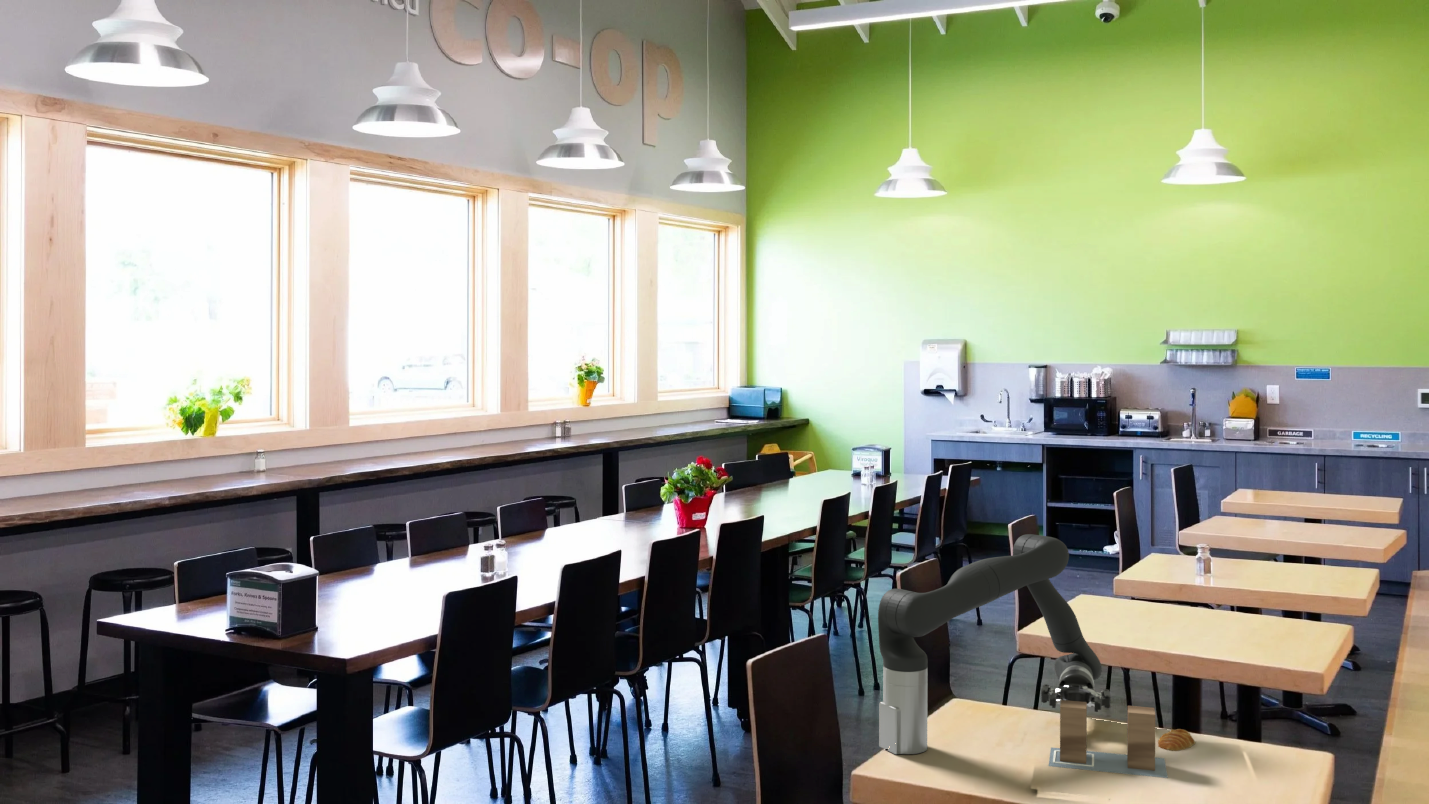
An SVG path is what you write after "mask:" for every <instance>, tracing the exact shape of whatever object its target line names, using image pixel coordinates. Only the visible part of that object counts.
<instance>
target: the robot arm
mask: <svg viewBox="0 0 1429 804" xmlns="http://www.w3.org/2000/svg"><path fill="white" fill-rule="evenodd" d="M1069 559H1070V553H1069V549H1068V547H1067V545H1066V544H1065V543H1064V542H1063V541H1061V540H1060V539H1058V538H1056V537H1052V536H1046V535H1040V534H1031V533H1029V534H1028V533H1027V534H1023V535H1021V536H1018V538H1017V539H1016V541H1015V542H1014V545H1013V549H1012V555H1004V556H996V557H988V558H984V559H980V560H976V561H974V562H972V563H969V564H967V565H965V566H962V567H960V568H958V569H956V571H955V572H954V573H953V574H952V575H951V576H950V578H949V580H948V582H947V584H946V585H944V586H942V587H940V588H937V589H934V590H931V591H927V592H915V591H911V590H907V589H902V588H892V589H889V590H887V591H886V592H885V593H884V594H883V595H882V597H881V599H880V601H879V605H878V610H877V611H878V612H877V627H878V628H877V629H878V630H877V631H878V644H879V645H878V647H879V652H880V655H881V658H882V667H883V669H882V670H883V671H882V673H883V674H882V678H883V679H882V686H883V687H882V694H883V695H882V696H883V697H882V701H880V702H879V703H878V706H879V707H878V709H879V710H878V714H879V715H878V726H879V727H878V730H879V731H878V737H879V738H878V746H879V748H882V749H884V750H886V749H888V748H889V746H890V748H889V749H888V750H887V751H888V752H890V753H891V754H894V755H916V754H921V753H924V752H926V751H927V750H928V655H927V654H926V652H925V651H924V650H923V649H922V648H921V647H920V646H919V645H918V644H917V642H916V639H915V638H920V637H923V636H924V637H925V636H926V635H928V634H929V633H931V632H933V631H935V630H936V629H938V628H940V627H941V626H943V625H944V624H946V623H947V622H949V621H951V620H952V619H954V618H956V617H959V616H962V615H964V614H966V613H968V612H970V611H973V610H975V609H977V608H979V607H982V606H985V605H987V604H989V603H991V602H993V601H995V600H998V599H999V598H1001V597H1004V596H1006V595H1009V594H1010V593H1013V592H1015V591H1018V590H1020V589H1022V588H1023V587H1027V588H1028V590H1029V593H1030V594H1031V596H1032V598H1033V599H1034V601H1035V602H1036V605H1037V607H1038V608H1039V610H1040V612H1041V614H1042V616H1043V619H1044V622H1045V624H1046V627H1047V631H1048V633H1049V635H1050V638H1051V642H1052V644H1053V646H1054V648H1055V650H1056V651H1058V652H1060V653H1063V655H1060V656H1059V657H1057V658H1056V660H1055V662H1054V672H1055V676H1056V677H1057V679H1058V681H1059V682H1058V686H1056V688H1052V687H1051V686H1050V685H1049V684H1048V683H1047V684H1043V685H1042V688H1041V689H1040V690H1041V691H1040V702H1041V703H1043V704H1046V703H1047V702H1048V706H1051V708H1052V709H1057V708H1056V706H1057V705H1060V704H1061V700H1067V701H1079V702H1087V707H1089V708H1093V707H1094V712H1096V713H1098V712H1099V711H1102V708H1103V707H1104V708H1106V709H1110V708H1111V707H1112V706H1111V692H1110V689H1106V688H1104V689H1103V690H1100V692H1098V691H1096V689H1095V682H1094V681H1096V680H1098V679H1099V678H1100V677H1101V675H1102V672H1103V667H1102V664H1101V661H1100V659H1099V657H1098V656H1097V654H1096V653H1095V652H1094V650H1093V649H1092V648H1091V646H1090V645H1089V643H1088V642H1087V641H1086V638H1085V637H1084V635H1083V633H1082V630H1081V628H1080V624H1079V621H1078V619H1077V616H1076V614H1075V612H1074V611H1073V609H1072V606H1070V605H1069V603H1068V602H1067V600H1066V599H1065V598H1064V597H1063V596H1062V595H1061V593H1060V592H1058V590H1057V589H1056V587H1055V586H1054V585H1053V583H1052V582H1051V580H1050V579H1052V578H1055V577H1057V576H1058V575H1060V574H1061V573H1062V572H1063V571H1064V570H1065V569H1066V568H1067V565H1068V562H1069ZM1065 653H1066V654H1065ZM895 743H896V744H895Z"/></svg>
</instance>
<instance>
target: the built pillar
mask: <svg viewBox="0 0 1429 804" xmlns="http://www.w3.org/2000/svg"><path fill="white" fill-rule="evenodd" d="M1126 726H1127V728H1126V729H1127V739H1126V741H1127V742H1126V746H1127V748H1126V755H1127V764H1128V768H1132V769H1142V770H1153V771H1155V757H1156V710H1155V707H1147V706H1138V705H1137V706H1136V705H1127V725H1126Z"/></svg>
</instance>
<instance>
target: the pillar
mask: <svg viewBox="0 0 1429 804" xmlns="http://www.w3.org/2000/svg"><path fill="white" fill-rule="evenodd" d="M1059 705H1060V706H1059V707H1060V708H1059V709H1060V710H1059V748H1060V761H1063V762H1073V763H1083V764H1086V757H1087V751H1088V750H1087V746H1088V745H1087V744H1088V743H1087V738H1088V737H1087V733H1088V731H1087V729H1088V727H1087V726H1088V725H1087V724H1088V723H1087V722H1088V720H1087V718H1088V717H1087V716H1088V715H1087V714H1088V712H1087V711H1088V706H1087V702H1079V701H1067V700H1061V704H1059Z"/></svg>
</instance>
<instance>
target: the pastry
mask: <svg viewBox="0 0 1429 804" xmlns="http://www.w3.org/2000/svg"><path fill="white" fill-rule="evenodd" d="M1195 744H1196V741H1195V739H1194V738H1193V736H1192V734H1191V733H1190V732H1189V731H1188V730H1186V729H1181V728H1177V729H1170V730H1169V731H1168V732H1165V733H1163V734H1162V735H1161V737H1159V739H1158V740H1157V745H1158V747H1157V748H1160V749H1162V750H1166V751H1170V752H1174V751H1175V752H1177V751H1178V752H1179V751H1183V750H1186V749H1191V748H1192V746H1194V745H1195Z"/></svg>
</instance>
